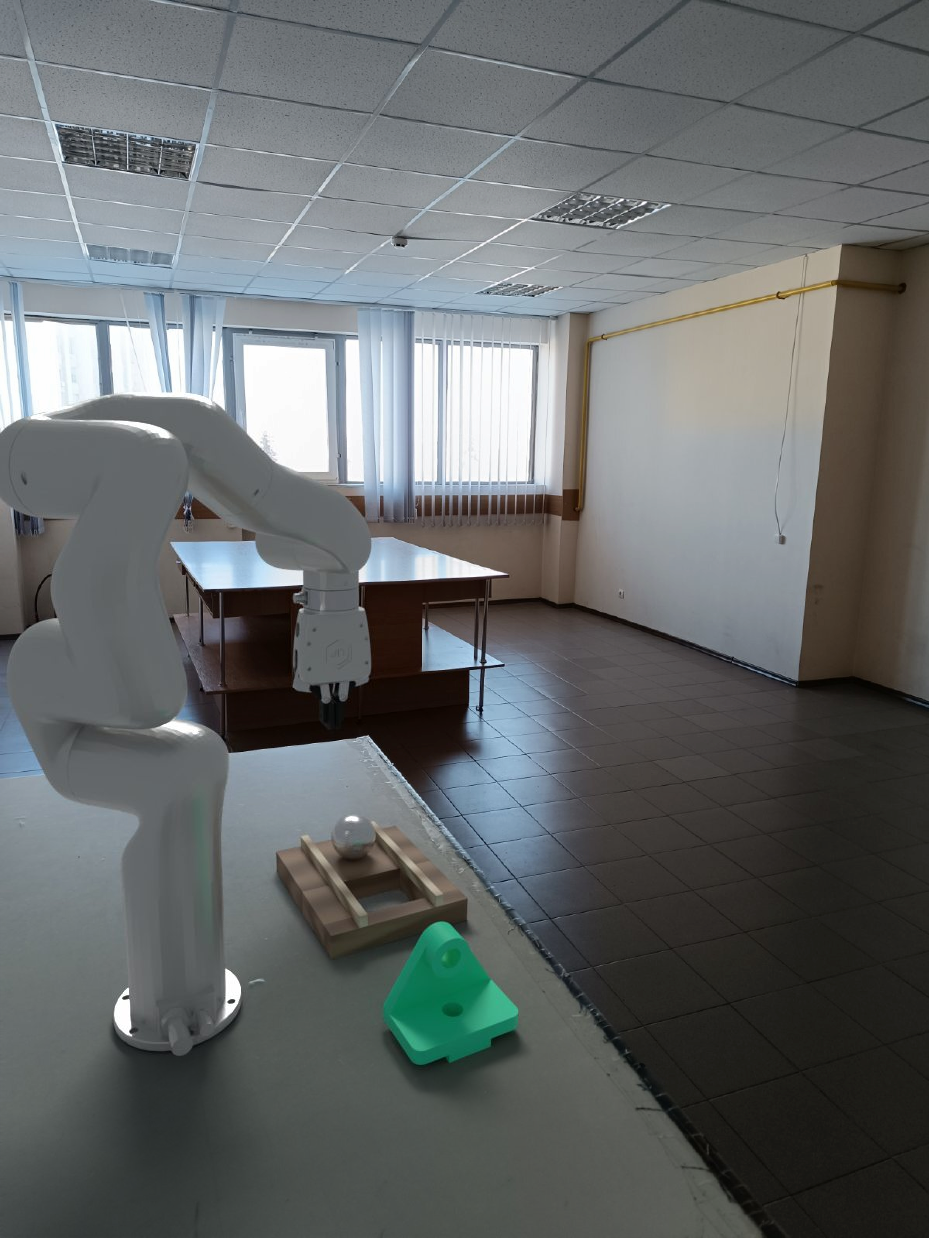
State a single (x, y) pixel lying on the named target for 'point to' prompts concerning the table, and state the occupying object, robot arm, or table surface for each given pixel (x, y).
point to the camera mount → (446, 1000)
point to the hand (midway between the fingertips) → (331, 726)
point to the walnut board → (368, 891)
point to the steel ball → (353, 836)
